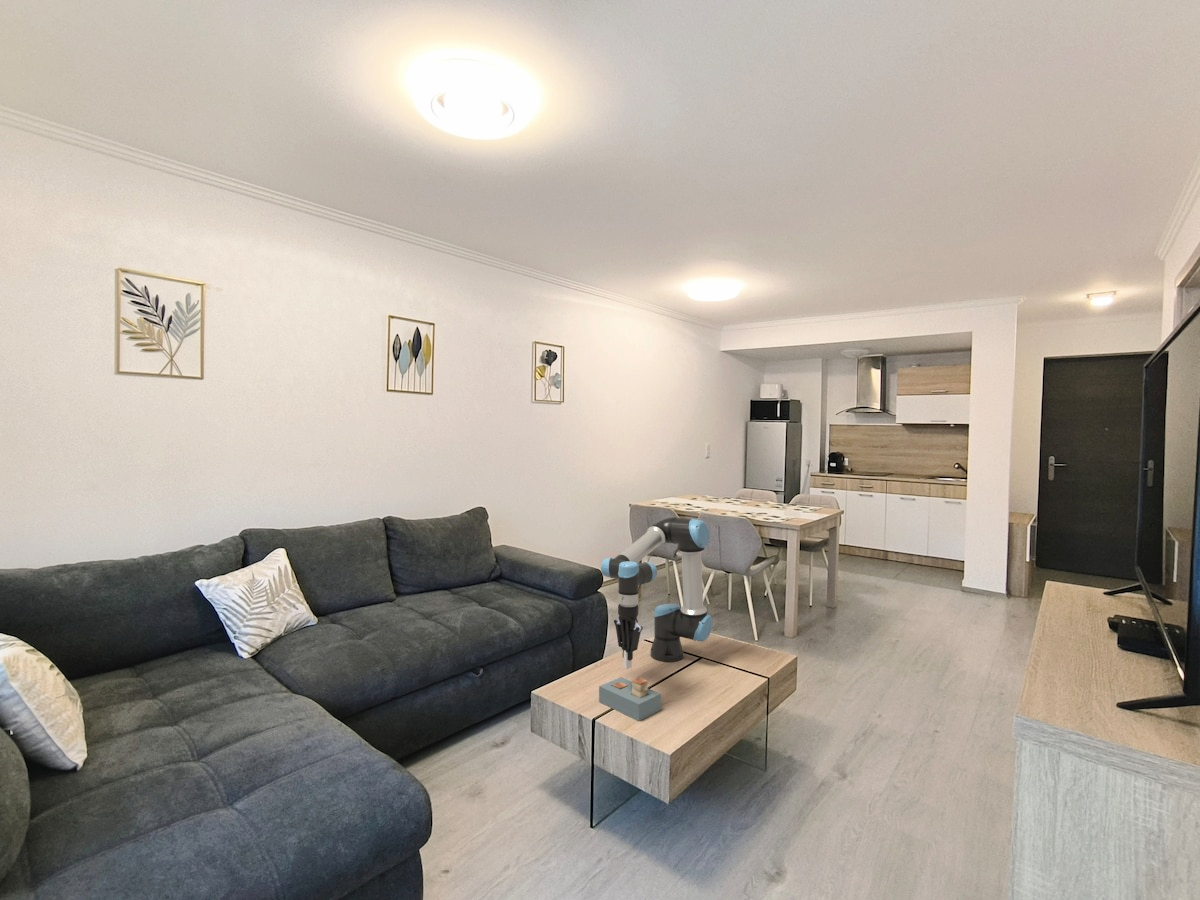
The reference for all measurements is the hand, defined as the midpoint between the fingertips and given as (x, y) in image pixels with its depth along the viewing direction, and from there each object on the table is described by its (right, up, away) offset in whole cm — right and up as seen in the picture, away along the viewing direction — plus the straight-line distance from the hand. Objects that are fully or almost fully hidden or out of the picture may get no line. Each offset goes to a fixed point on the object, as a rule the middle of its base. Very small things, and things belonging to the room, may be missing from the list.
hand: (627, 667), depth 207 cm
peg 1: (-3, -14, +3) cm, 15 cm away
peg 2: (+4, -9, -4) cm, 11 cm away
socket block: (+1, -14, 0) cm, 14 cm away
